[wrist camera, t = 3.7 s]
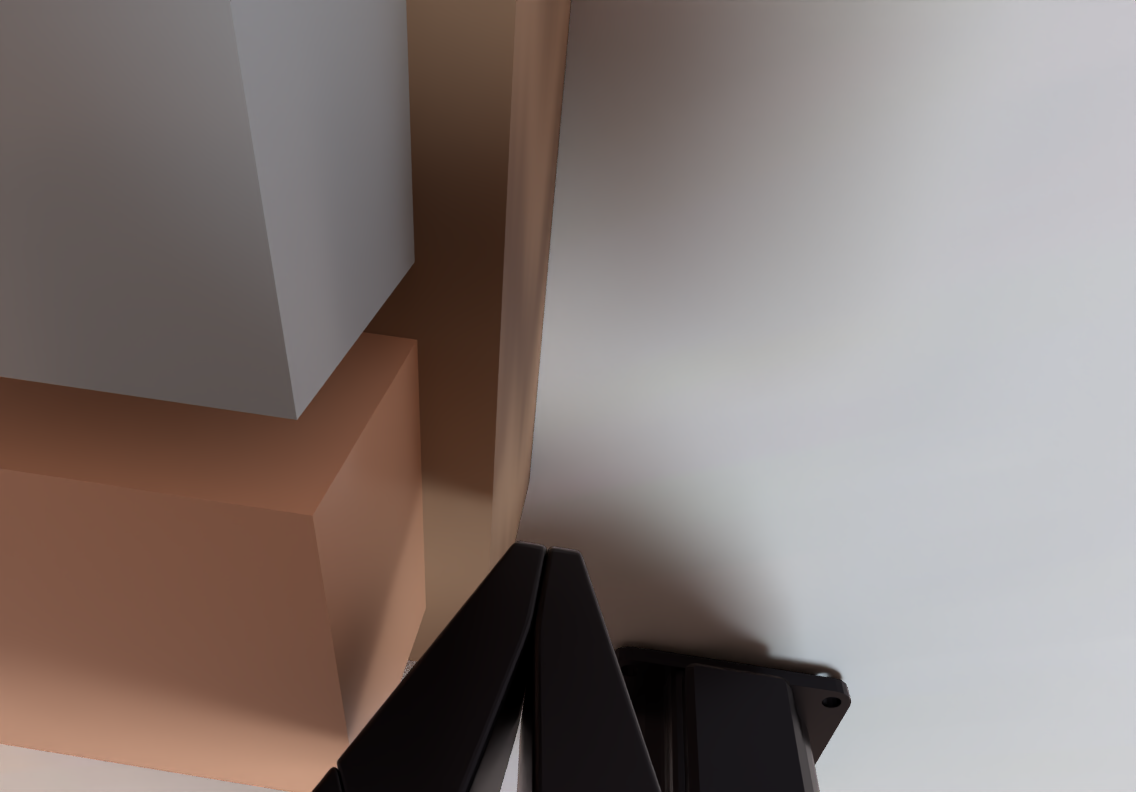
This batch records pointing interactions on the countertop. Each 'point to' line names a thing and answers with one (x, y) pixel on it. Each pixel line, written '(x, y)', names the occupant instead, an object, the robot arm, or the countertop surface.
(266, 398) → the pale grey squat block
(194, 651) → the peach square prism
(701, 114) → the countertop surface
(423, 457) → the walnut block
